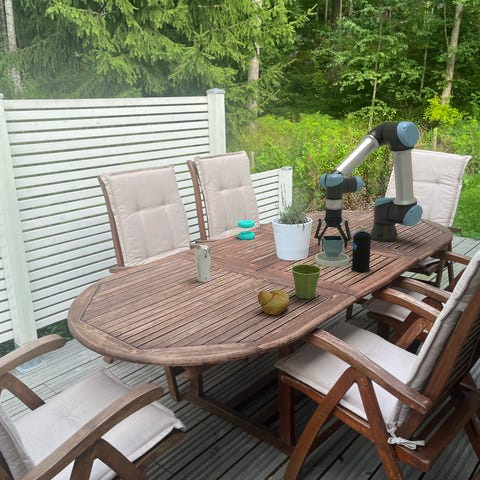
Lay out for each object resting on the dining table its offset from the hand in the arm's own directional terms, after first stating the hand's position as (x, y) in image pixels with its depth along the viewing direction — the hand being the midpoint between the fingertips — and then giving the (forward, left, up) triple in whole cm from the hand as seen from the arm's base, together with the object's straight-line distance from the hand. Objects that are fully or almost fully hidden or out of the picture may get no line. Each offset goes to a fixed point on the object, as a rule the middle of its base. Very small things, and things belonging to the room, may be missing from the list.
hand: (332, 253), depth 211 cm
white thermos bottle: (+63, +9, -4) cm, 64 cm away
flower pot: (0, 0, -1) cm, 1 cm away
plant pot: (+26, +37, -4) cm, 45 cm away
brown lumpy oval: (+40, +47, -4) cm, 62 cm away
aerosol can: (-8, +14, -4) cm, 17 cm away
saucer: (0, 0, -4) cm, 4 cm away
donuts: (+31, -53, -4) cm, 61 cm away
